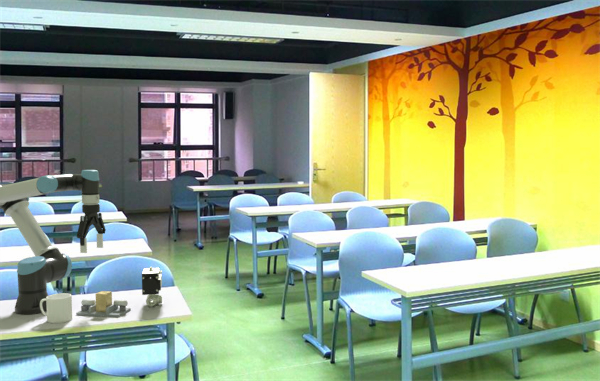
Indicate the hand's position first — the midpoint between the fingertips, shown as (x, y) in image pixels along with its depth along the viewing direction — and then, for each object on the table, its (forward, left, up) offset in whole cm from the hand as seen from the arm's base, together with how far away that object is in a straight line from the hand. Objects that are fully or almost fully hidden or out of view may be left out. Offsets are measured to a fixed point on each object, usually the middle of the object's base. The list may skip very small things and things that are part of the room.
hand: (92, 250), depth 270 cm
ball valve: (+26, +7, -27) cm, 38 cm away
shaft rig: (+10, -9, -26) cm, 29 cm away
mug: (-4, -23, -27) cm, 35 cm away
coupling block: (+10, -9, -25) cm, 28 cm away
